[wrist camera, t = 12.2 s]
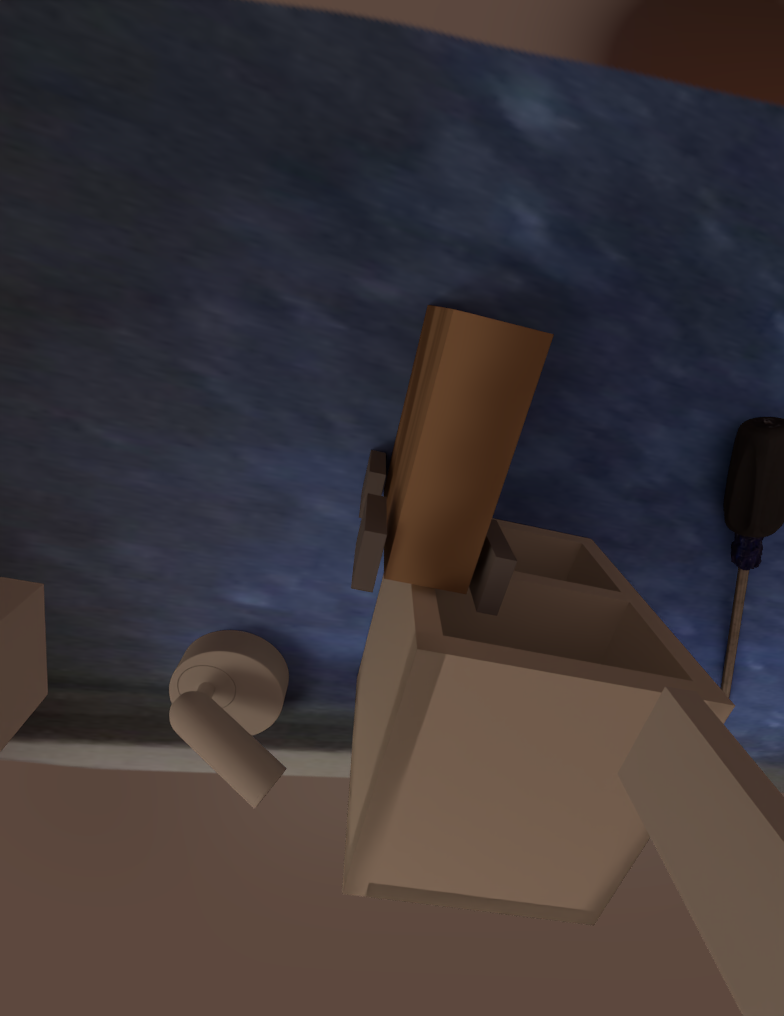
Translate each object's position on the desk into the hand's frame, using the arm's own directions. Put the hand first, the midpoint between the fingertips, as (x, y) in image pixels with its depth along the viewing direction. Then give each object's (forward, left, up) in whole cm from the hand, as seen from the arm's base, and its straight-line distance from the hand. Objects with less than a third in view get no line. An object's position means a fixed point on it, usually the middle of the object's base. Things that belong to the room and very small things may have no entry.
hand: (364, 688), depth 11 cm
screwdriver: (+29, -6, -24) cm, 38 cm away
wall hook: (-6, -23, -24) cm, 34 cm away
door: (+3, +2, -24) cm, 24 cm away
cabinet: (+8, -11, -24) cm, 28 cm away
